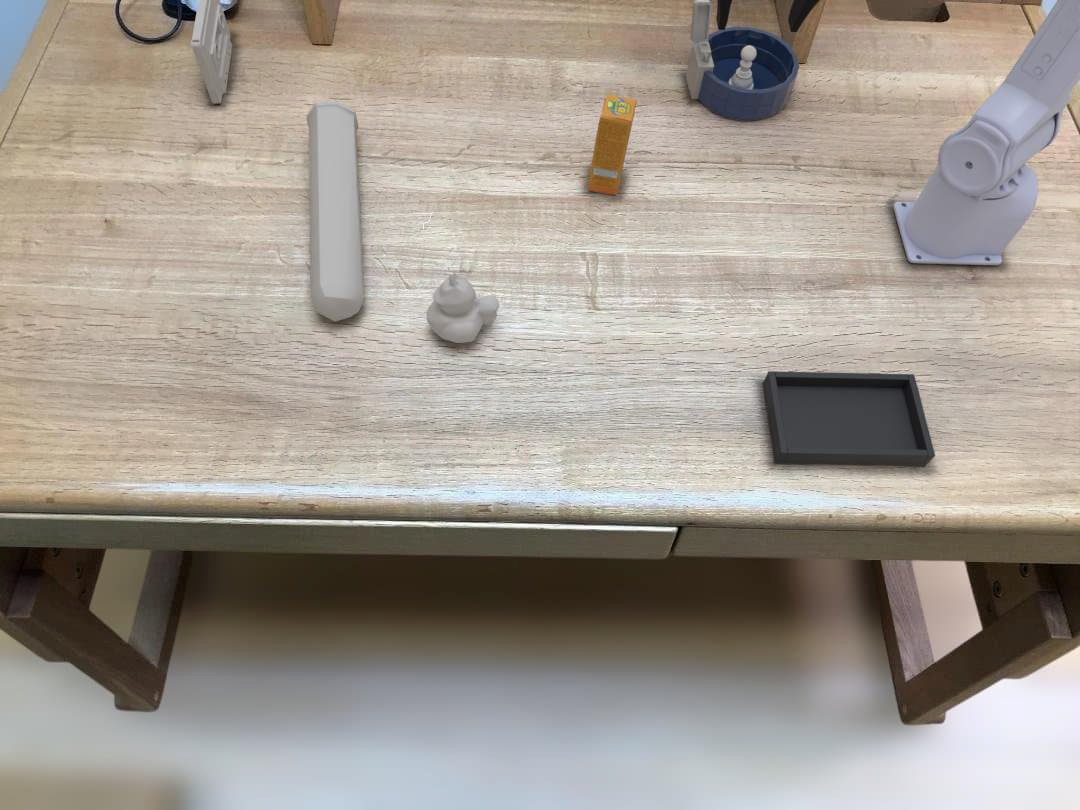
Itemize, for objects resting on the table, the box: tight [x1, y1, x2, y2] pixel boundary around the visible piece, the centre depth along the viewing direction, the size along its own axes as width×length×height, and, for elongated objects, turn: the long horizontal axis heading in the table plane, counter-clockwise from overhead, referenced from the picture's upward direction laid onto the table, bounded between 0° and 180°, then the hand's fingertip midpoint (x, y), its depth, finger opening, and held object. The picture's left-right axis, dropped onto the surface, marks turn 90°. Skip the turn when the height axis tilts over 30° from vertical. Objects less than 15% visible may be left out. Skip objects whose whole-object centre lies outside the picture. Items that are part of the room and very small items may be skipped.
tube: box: [305, 100, 365, 323], centre depth 83 cm, size 5×5×25 cm
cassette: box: [190, 0, 233, 105], centre depth 93 cm, size 12×2×8 cm, turn 5°
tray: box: [762, 370, 936, 467], centre depth 75 cm, size 13×8×2 cm, turn 90°
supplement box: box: [587, 93, 638, 196], centre depth 85 cm, size 3×3×10 cm
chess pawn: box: [729, 45, 757, 89], centre depth 95 cm, size 3×3×5 cm
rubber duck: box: [426, 272, 500, 344], centre depth 76 cm, size 5×7×8 cm
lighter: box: [685, 0, 714, 100], centre depth 95 cm, size 7×2×8 cm, turn 4°
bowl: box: [698, 25, 800, 122], centre depth 96 cm, size 11×11×4 cm
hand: (756, 25), depth 90 cm, fingers open, 7 cm apart
